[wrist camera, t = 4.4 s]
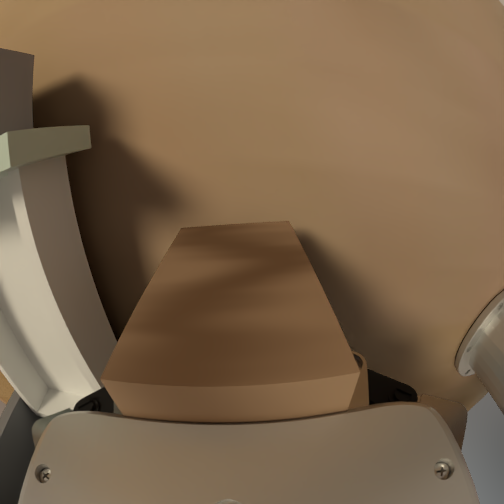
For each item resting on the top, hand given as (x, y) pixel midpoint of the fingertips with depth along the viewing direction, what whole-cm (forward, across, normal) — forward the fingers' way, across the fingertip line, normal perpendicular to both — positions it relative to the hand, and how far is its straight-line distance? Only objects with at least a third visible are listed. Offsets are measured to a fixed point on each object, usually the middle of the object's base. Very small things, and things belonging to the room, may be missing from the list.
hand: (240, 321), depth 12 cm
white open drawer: (+2, +14, -2) cm, 14 cm away
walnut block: (+2, 0, 0) cm, 2 cm away
